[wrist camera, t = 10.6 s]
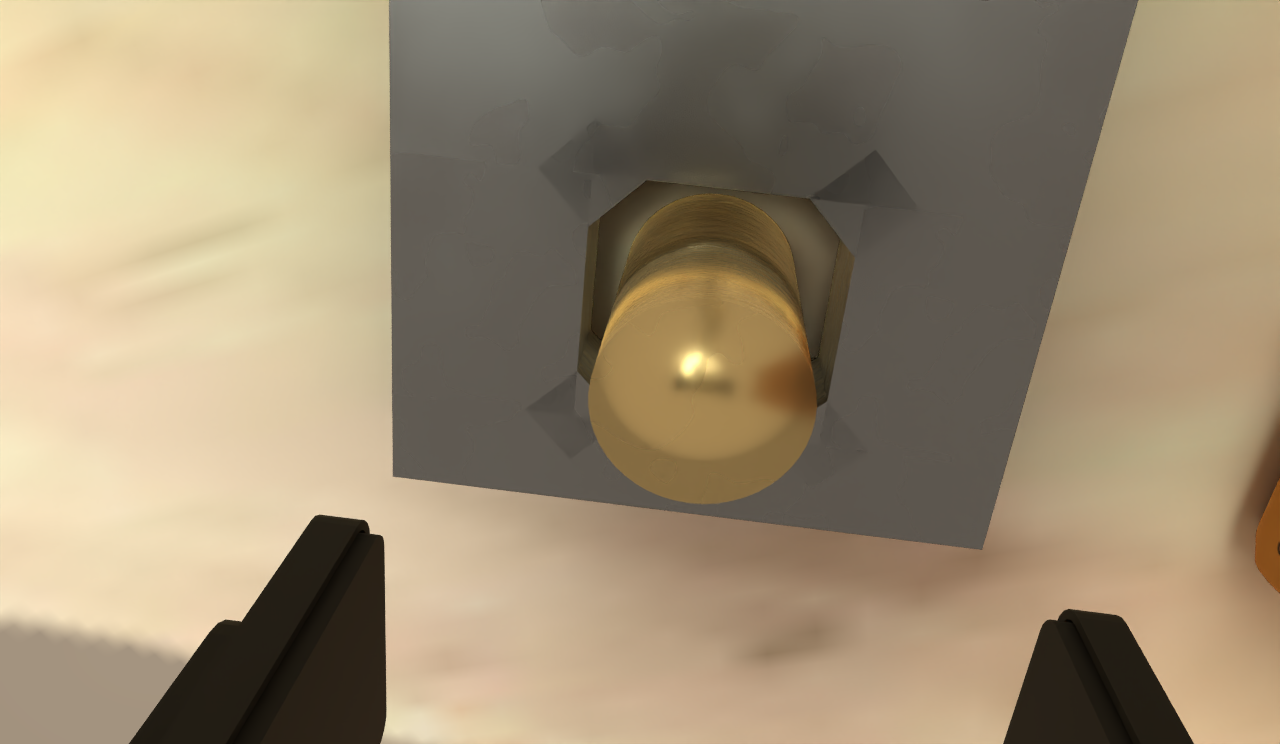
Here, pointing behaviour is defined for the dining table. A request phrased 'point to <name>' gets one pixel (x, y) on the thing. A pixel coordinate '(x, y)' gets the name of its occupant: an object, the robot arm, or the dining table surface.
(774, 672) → the dining table surface
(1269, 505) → the coffee package
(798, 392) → the brass cylinder peg
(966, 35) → the jig
